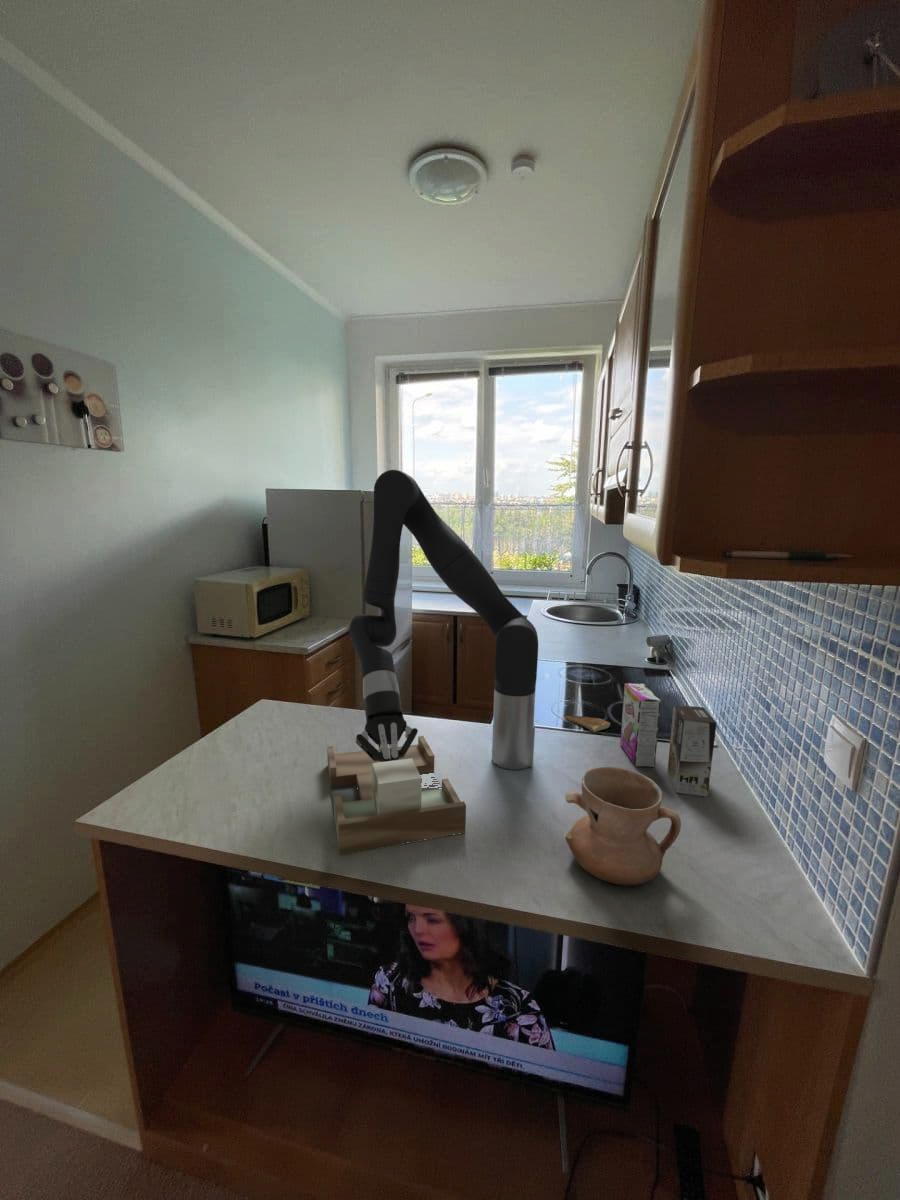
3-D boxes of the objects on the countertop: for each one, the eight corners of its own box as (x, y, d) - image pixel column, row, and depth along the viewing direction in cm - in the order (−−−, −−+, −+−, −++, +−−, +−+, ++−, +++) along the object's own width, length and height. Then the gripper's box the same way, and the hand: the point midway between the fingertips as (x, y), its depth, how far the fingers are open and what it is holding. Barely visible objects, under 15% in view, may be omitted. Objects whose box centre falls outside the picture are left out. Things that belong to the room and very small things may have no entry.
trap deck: (327, 765, 113) (327, 742, 112) (423, 753, 119) (423, 732, 118) (339, 855, 83) (339, 824, 82) (465, 833, 90) (466, 805, 89)
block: (372, 802, 94) (372, 763, 93) (411, 797, 96) (412, 758, 95) (378, 826, 87) (378, 783, 86) (421, 819, 89) (421, 778, 88)
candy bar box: (618, 745, 126) (623, 682, 123) (638, 746, 126) (644, 683, 123) (633, 767, 115) (639, 699, 112) (655, 768, 115) (662, 699, 112)
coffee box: (709, 797, 103) (717, 723, 100) (675, 793, 104) (683, 719, 102) (697, 775, 112) (704, 706, 109) (666, 771, 113) (673, 703, 110)
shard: (563, 720, 142) (563, 714, 142) (582, 714, 146) (583, 709, 146) (593, 734, 133) (593, 727, 133) (612, 728, 137) (613, 722, 137)
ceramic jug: (558, 883, 78) (565, 800, 75) (561, 827, 92) (568, 755, 89) (683, 910, 74) (695, 823, 71) (667, 847, 88) (677, 772, 85)
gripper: (351, 691, 101) (359, 779, 92) (415, 686, 105) (429, 769, 95) (348, 707, 107) (356, 790, 97) (409, 701, 111) (422, 781, 101)
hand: (392, 780), depth 96 cm, fingers closed
